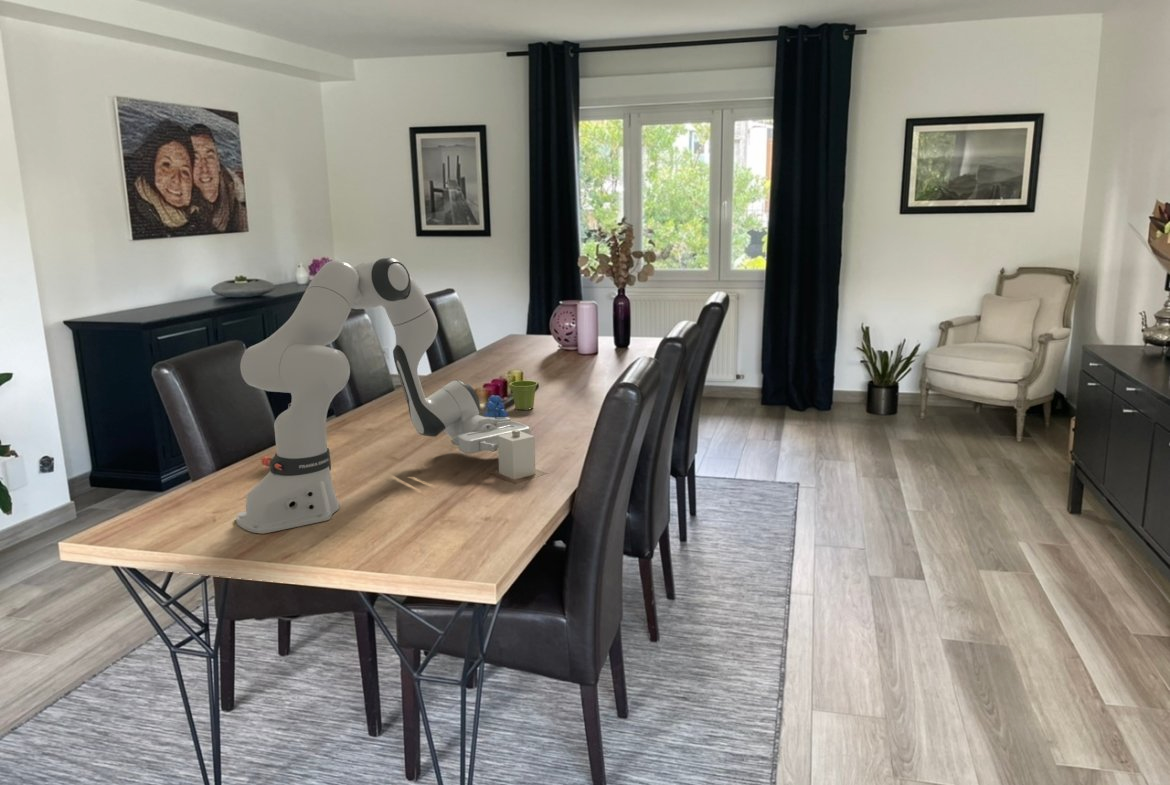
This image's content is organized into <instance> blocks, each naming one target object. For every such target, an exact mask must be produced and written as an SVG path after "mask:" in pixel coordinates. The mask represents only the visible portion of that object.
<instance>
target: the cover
mask: <svg viewBox="0 0 1170 785" xmlns="http://www.w3.org/2000/svg"><path fill="white" fill-rule="evenodd" d="M497 452H498V453H497V454H498V470H499V473H500V474H502V475H505V476H507V477H509V478H511V479H518V478H522V477H526V476H530V475H534V474H536V472H535V469H536V438H535V435H533V434H532V435H530V434H527V433H524V432H521V431H518V430H514V431H512V433H507V434H503V435H498V450H497Z"/></svg>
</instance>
